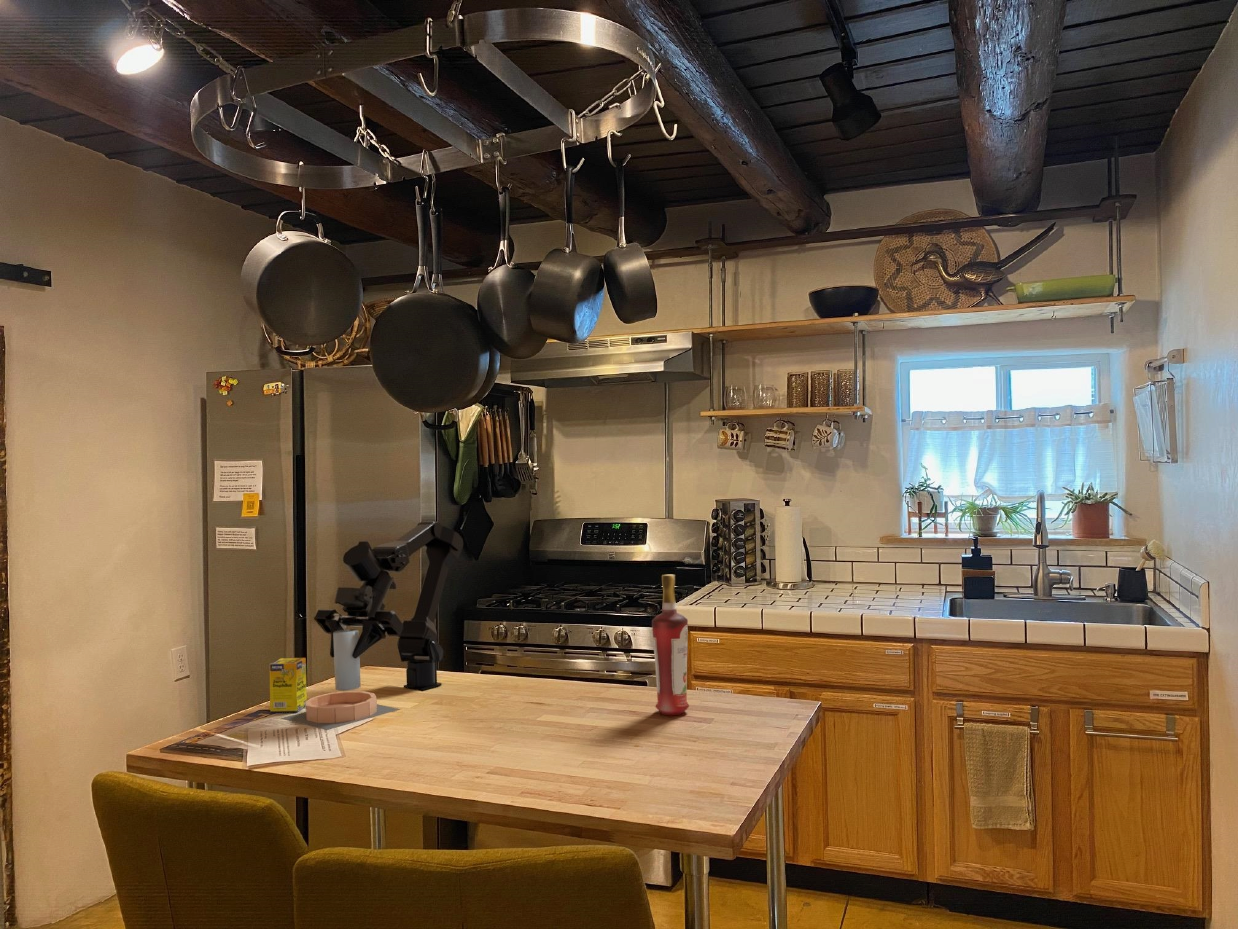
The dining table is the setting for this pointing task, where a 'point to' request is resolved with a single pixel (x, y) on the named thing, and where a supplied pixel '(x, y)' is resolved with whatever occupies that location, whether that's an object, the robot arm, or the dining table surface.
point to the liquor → (670, 653)
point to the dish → (341, 706)
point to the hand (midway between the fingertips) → (342, 657)
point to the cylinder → (346, 660)
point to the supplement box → (287, 685)
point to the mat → (302, 719)
